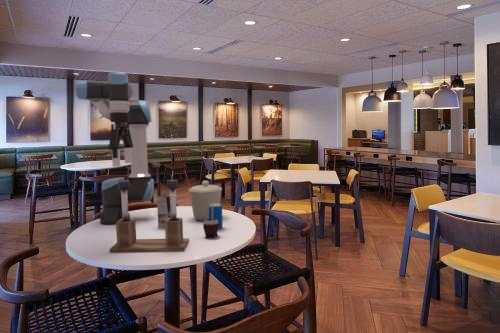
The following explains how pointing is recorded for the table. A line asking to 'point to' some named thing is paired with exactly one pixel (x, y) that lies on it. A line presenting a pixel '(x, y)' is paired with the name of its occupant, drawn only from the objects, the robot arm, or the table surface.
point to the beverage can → (216, 213)
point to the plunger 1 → (124, 199)
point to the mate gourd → (211, 226)
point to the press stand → (131, 244)
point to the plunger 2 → (173, 198)
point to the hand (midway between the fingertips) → (122, 164)
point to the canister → (204, 199)
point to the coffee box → (163, 209)
